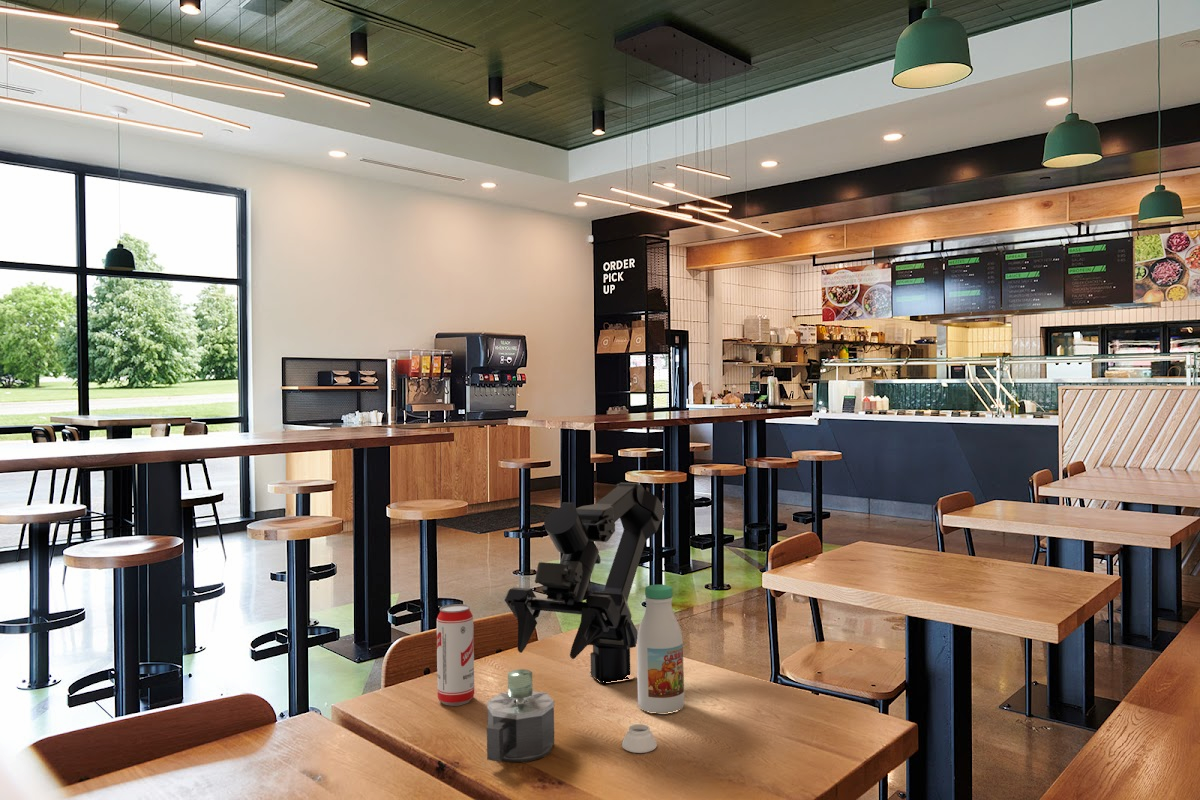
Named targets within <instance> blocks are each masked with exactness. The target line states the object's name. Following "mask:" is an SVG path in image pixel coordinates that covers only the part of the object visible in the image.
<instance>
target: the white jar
mask: <svg viewBox="0 0 1200 800" xmlns="http://www.w3.org/2000/svg"><path fill="white" fill-rule="evenodd" d="M655 738H656V737H655V736H654V735H653V732H652V731H651V729H650V727H649V726H648V725H647V724H642V723H641V724H640V723H638V724H637V723H636V724H631V725H630V726H628V731H627V732H626V733H625V736H624V738H623V741H622V742H621V747H622V748H623V749H624V750H626V751H628V752H630V753H633V754H645V753H649V752H652V751H654V750H655V749H656V748H657V746H658V742H657V740H656V739H655Z"/></svg>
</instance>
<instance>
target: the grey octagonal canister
mask: <svg viewBox="0 0 1200 800" xmlns="http://www.w3.org/2000/svg"><path fill="white" fill-rule="evenodd" d="M554 707H555V700H554V699H553V698H552V697H551V696H550V695H549V694H548V692H544V691H538V690H533V694H532V695H531V696H529V697H525V698H524V703H522V704H517V698H512V697H510V696H508V691H507V692H500V693H498V694H497V695H495V696H493V697H491V698H490V699H489V700H487V701H486V708H487V726H486V756H487V757H486V759H487V760H488V761H493V762H498V763H500V762H506V763H512V764H513V763H516V764H517V763H528V762H533V761H537V760H540V759H542V758H544V757H547V756H548V755H549V754H550V753H551V752H552V749H553V745H554V744H555V710H554V709H555V708H554Z"/></svg>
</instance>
